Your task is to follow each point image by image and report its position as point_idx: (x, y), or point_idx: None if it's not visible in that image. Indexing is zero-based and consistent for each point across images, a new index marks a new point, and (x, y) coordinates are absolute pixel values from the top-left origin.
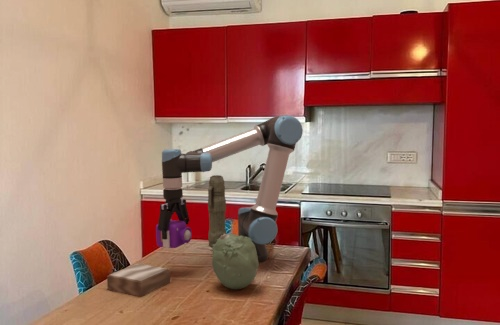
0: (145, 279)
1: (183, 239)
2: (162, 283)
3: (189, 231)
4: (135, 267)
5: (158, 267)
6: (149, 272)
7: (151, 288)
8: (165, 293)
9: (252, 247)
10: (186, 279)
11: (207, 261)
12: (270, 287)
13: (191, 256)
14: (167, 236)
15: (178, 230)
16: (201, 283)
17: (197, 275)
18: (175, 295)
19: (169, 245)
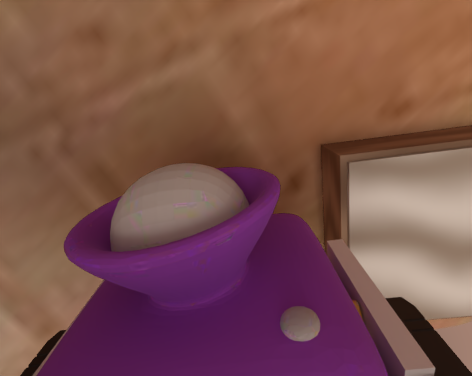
0: None
1: (270, 174)
2: (378, 139)
3: (142, 200)
4: (400, 295)
5: (355, 215)
6: (440, 196)
7: (454, 130)
8: (438, 63)
9: None
10: (256, 113)
11: (33, 200)
12: None
13: (42, 291)
14: (391, 313)
15: (270, 308)
16: (259, 11)
17: (189, 108)
18: (443, 2)
19: (335, 249)
